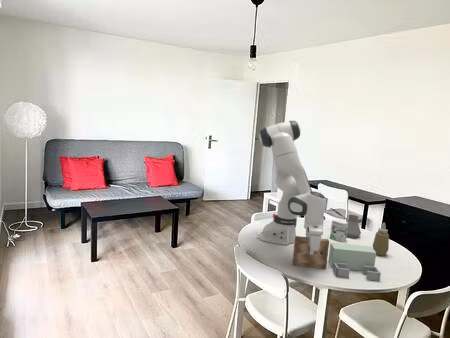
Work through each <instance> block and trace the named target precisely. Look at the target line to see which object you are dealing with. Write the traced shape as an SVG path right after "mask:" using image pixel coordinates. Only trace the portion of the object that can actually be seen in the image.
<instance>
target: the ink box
mask: <svg viewBox="0 0 450 338" xmlns="http://www.w3.org/2000/svg"><path fill="white" fill-rule="evenodd" d="M347 229H348V222H347V220H343V219H342V220H341V219H338V218H335V219H332V220H331V227H330V236H329V238H330V239H331V240H334V241H338V242H339V243H344V242H346V241H347V236H346V235H347Z"/></svg>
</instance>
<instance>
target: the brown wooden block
mask: <svg viewBox="0 0 450 338" xmlns="http://www.w3.org/2000/svg"><path fill="white" fill-rule="evenodd" d="M308 240H309V239H308V237H306V236H299V235H296V236H295V242H294V243H293V244H294V246H293V252H292V253H293V254H292V266H296V267H298V266H299V267H306V268H315V269H327V265H328V258H329V249H330V240H329V238H321V242H320V247H319V250H318V251H314V254H313V255H310V253H309V251H310V246H309V244H308Z"/></svg>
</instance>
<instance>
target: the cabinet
mask: <svg viewBox="0 0 450 338" xmlns="http://www.w3.org/2000/svg"><path fill="white" fill-rule="evenodd" d="M376 258H377V255H376V252H375V251H374V249H373V246H370V245H360V244H351V243H350V244H348V243H343V242H329V251H328V259H327V262H328V263H329V265H330V268H332V270H333V273H334V275H335V277H339V278H348V279H349V278H350V272H351V270H352V271H360V272H361V271H362V275H366V276H365V279H366V281H374V282H380V281H381V274H382V273H381V271H380V270H379V269H378V267H377V266H376V265H375V263H376Z"/></svg>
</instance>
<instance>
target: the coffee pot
mask: <svg viewBox="0 0 450 338" xmlns="http://www.w3.org/2000/svg"><path fill="white" fill-rule="evenodd" d="M331 210H332V211H333V212H334V213H335V214H337V215H338V216H341V217H342V218H344V219H345V221H346V222H348V229H347V235H346V238H352V239H353V238H355V239H357V238H358V237H359V236H361V234H362V232H361V228H360V226H359V222H358V219H359V218H360V217H359V216H358V215H356V214H355V215H354V214H348V215H347V217H348V218H347V217H346V216H344V215H343V214H341V213H340V212H339V211H337V210H336V209H335V208H334V209H333V208H332V207H330V209H329V211H331Z"/></svg>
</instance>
